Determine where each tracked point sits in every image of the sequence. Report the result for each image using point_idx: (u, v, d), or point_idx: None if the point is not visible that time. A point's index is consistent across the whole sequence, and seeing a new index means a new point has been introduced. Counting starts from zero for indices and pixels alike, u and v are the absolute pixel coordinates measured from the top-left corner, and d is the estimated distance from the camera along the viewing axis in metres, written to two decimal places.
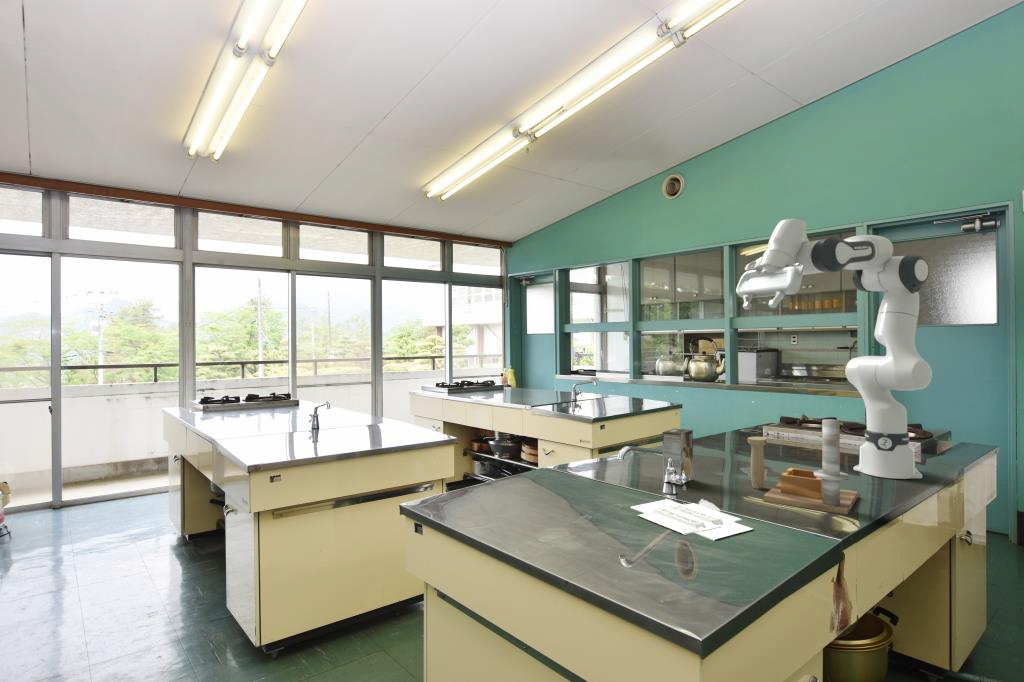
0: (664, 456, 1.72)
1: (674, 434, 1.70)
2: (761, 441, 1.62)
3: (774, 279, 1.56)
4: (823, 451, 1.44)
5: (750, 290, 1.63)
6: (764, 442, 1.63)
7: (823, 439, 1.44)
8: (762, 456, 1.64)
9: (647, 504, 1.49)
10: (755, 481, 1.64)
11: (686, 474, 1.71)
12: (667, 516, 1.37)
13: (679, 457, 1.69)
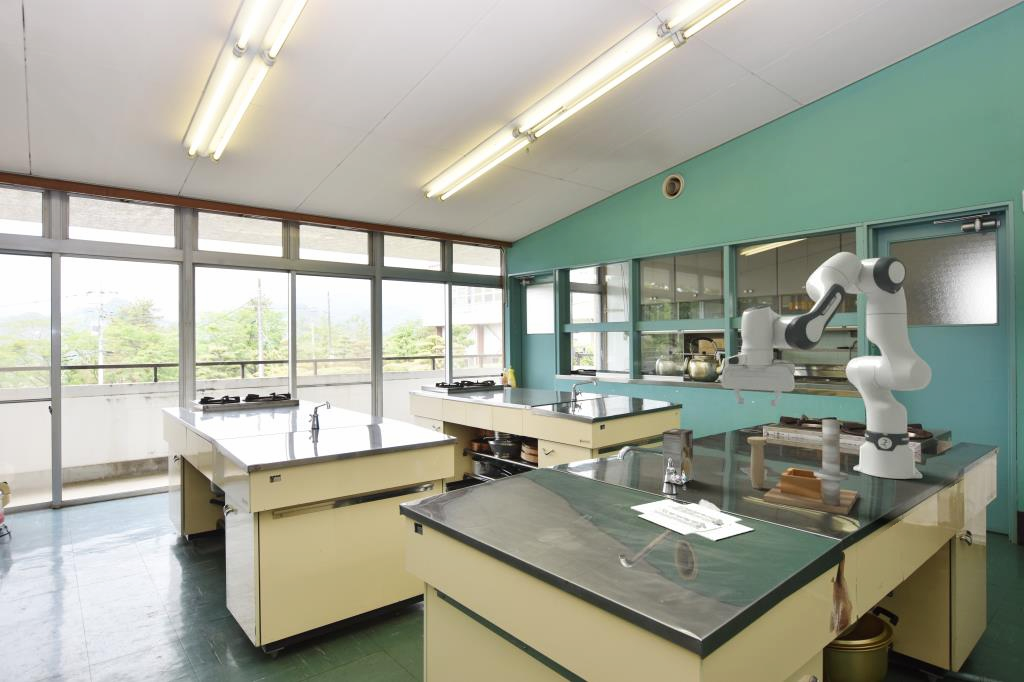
0: (664, 456, 1.72)
1: (674, 434, 1.70)
2: (761, 441, 1.62)
3: (768, 379, 1.61)
4: (823, 451, 1.44)
5: (742, 387, 1.66)
6: (764, 442, 1.63)
7: (823, 439, 1.44)
8: (762, 456, 1.64)
9: (647, 504, 1.48)
10: (755, 481, 1.64)
11: (686, 474, 1.71)
12: (667, 516, 1.37)
13: (679, 457, 1.69)
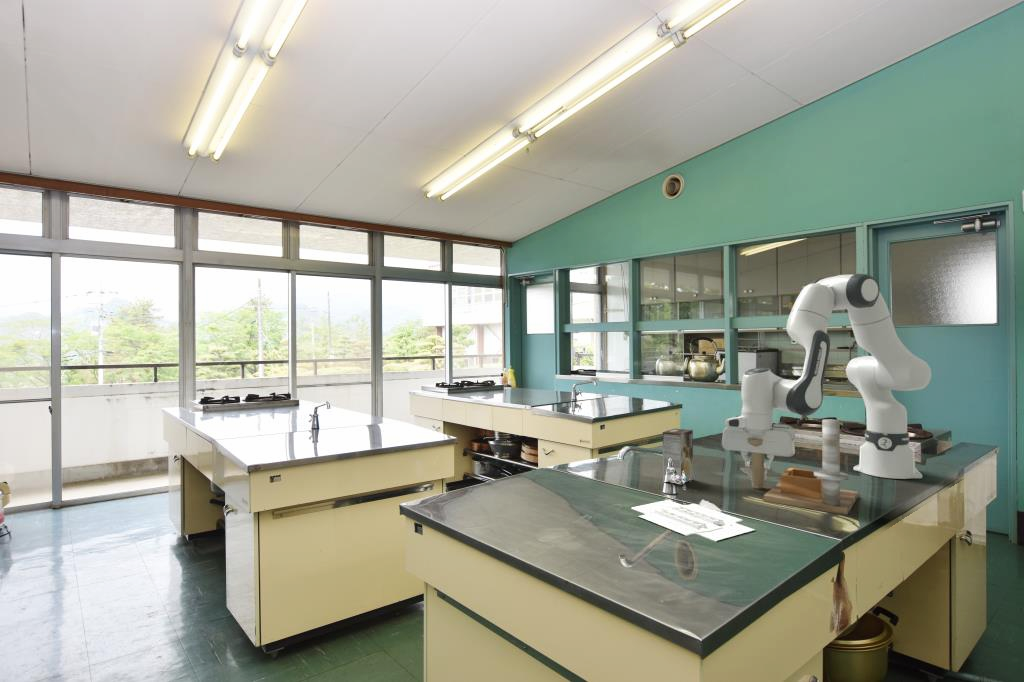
0: (664, 456, 1.72)
1: (674, 434, 1.70)
2: (761, 441, 1.62)
3: (768, 443, 1.62)
4: (823, 451, 1.44)
5: (742, 450, 1.66)
6: None
7: (823, 439, 1.44)
8: (762, 456, 1.64)
9: (648, 505, 1.48)
10: (755, 481, 1.64)
11: (686, 474, 1.71)
12: (668, 517, 1.37)
13: (679, 457, 1.69)
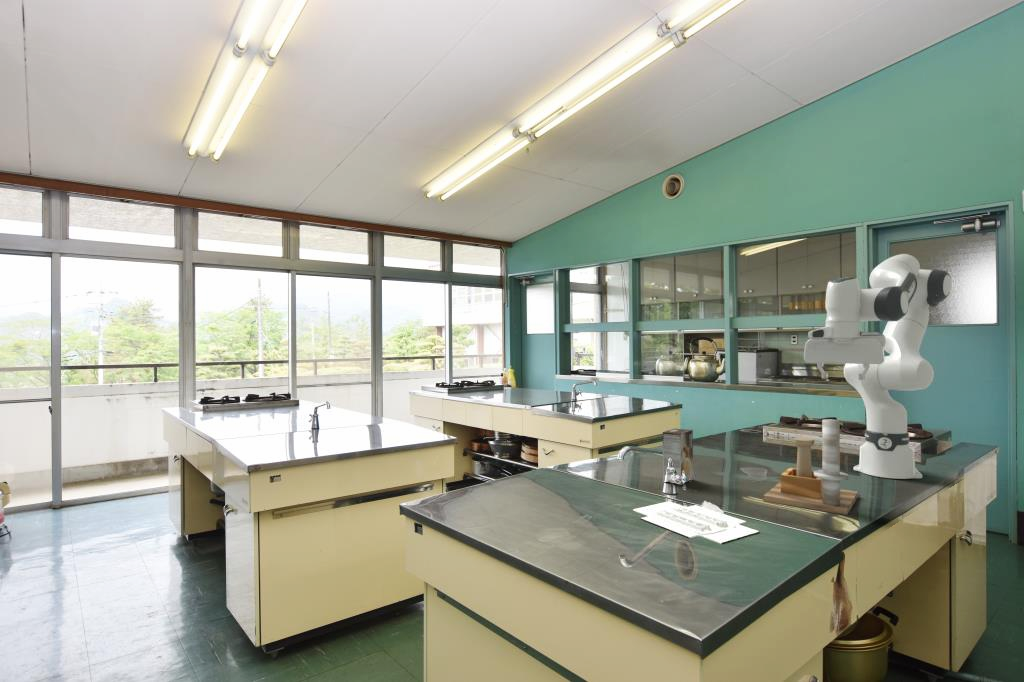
0: (664, 456, 1.72)
1: (674, 434, 1.70)
2: (809, 442, 1.53)
3: (856, 351, 1.57)
4: (823, 451, 1.44)
5: (826, 361, 1.61)
6: (812, 443, 1.54)
7: (823, 439, 1.44)
8: (809, 458, 1.54)
9: (650, 506, 1.46)
10: None
11: (686, 474, 1.71)
12: (671, 519, 1.35)
13: (679, 457, 1.69)
